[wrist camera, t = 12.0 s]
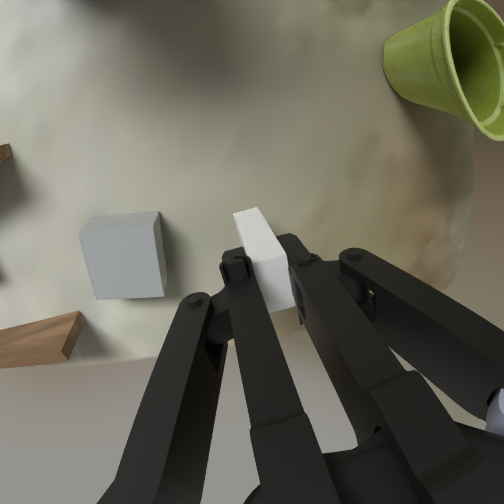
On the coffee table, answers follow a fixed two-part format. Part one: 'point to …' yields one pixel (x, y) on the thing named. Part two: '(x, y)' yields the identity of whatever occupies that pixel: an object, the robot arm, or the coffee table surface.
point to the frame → (38, 333)
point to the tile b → (125, 256)
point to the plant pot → (453, 64)
